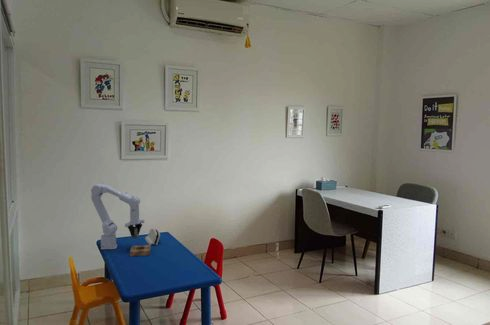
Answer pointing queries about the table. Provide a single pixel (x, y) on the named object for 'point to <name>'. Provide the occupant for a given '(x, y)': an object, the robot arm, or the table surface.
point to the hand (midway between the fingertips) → (134, 235)
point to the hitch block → (140, 250)
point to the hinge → (153, 237)
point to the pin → (135, 233)
